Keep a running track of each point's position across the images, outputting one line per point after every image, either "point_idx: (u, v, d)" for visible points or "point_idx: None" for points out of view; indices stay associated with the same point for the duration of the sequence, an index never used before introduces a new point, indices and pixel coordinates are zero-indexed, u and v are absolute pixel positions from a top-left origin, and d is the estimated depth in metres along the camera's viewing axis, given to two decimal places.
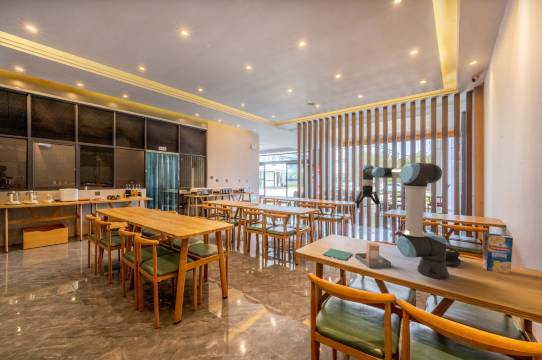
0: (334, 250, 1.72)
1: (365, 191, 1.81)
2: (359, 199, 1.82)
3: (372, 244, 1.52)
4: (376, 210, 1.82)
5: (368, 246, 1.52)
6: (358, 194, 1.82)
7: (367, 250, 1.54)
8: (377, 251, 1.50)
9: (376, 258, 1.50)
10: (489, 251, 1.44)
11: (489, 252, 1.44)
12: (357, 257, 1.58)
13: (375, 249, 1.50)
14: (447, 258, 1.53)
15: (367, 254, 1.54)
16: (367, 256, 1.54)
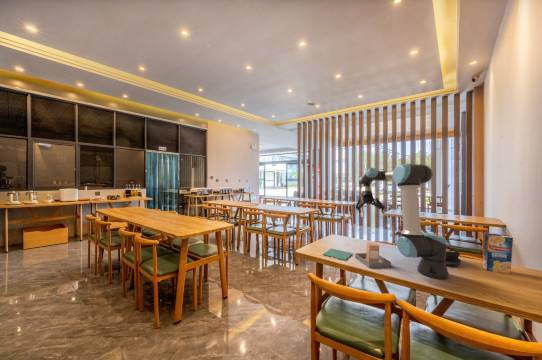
0: (334, 250, 1.72)
1: (364, 197, 1.76)
2: None
3: (372, 244, 1.52)
4: (382, 213, 1.65)
5: (368, 246, 1.52)
6: (358, 201, 1.76)
7: (367, 250, 1.54)
8: (377, 251, 1.50)
9: (376, 258, 1.50)
10: (489, 251, 1.44)
11: (489, 252, 1.44)
12: (357, 257, 1.58)
13: (375, 249, 1.50)
14: (447, 258, 1.53)
15: (367, 254, 1.54)
16: (367, 256, 1.54)
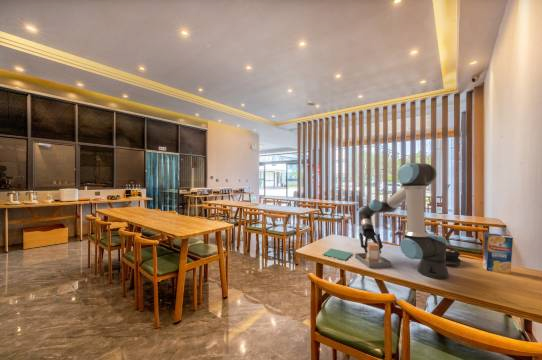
0: (334, 250, 1.72)
1: (364, 231, 1.62)
2: None
3: (372, 244, 1.52)
4: None
5: (368, 246, 1.52)
6: (360, 237, 1.60)
7: None
8: (377, 251, 1.50)
9: (376, 258, 1.50)
10: (489, 251, 1.44)
11: (489, 252, 1.44)
12: (357, 257, 1.58)
13: (375, 249, 1.50)
14: (447, 258, 1.53)
15: None
16: None
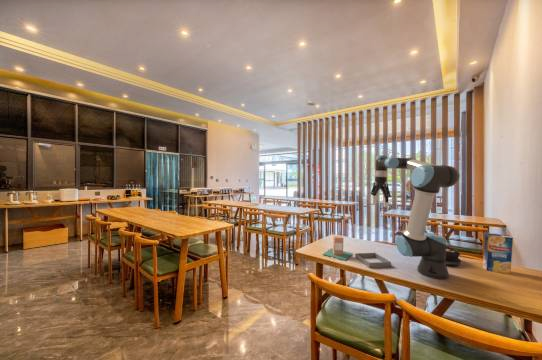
0: None
1: (377, 182, 1.74)
2: None
3: (337, 237, 1.64)
4: (384, 204, 1.65)
5: (334, 239, 1.65)
6: None
7: (333, 242, 1.66)
8: (341, 243, 1.62)
9: (341, 250, 1.62)
10: (489, 251, 1.44)
11: (489, 252, 1.44)
12: (357, 257, 1.58)
13: (340, 242, 1.62)
14: (447, 258, 1.53)
15: (333, 246, 1.66)
16: (333, 248, 1.66)
